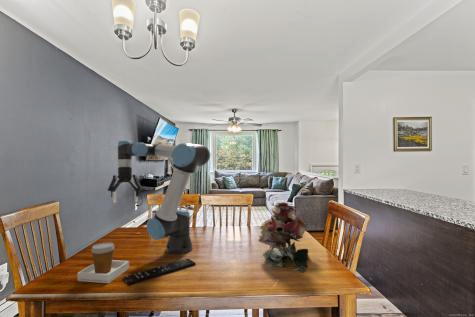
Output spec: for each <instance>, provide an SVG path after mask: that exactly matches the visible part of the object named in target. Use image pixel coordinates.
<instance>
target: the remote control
mask: <svg viewBox="0 0 475 317" xmlns="http://www.w3.org/2000/svg"><path fill="white" fill-rule="evenodd" d="M194 266H196V262H194V260H192V259H190V258H185V259H182V260H179V261H175V262H171V263H167V264H164V265H161V266H157V267H153V268H150V269H145V270H143V271H139V272H135V273H132V274H128V275H124V276H123V280H124V281H125V283H126V284H127V285H128V286H131V285H135V284H139V283H141V282H144V281H149V280H151V279H154V278H158V277H161V276H164V275H167V274H171V273H174V272H178V271H181V270H184V269H186V268H187V269H188V268H190V267H194Z"/></svg>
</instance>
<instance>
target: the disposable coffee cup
mask: <svg viewBox="0 0 475 317" xmlns="http://www.w3.org/2000/svg"><path fill="white" fill-rule="evenodd" d="M114 249H115V244H114V243H113V242H100V243H96V244H94V245H93V246H92V247H91V253H92V259H93V264H94V268H95V273H100V274H106V273H109V272H110V271H111V265H112V260H113V258H114V257H113V256H114Z"/></svg>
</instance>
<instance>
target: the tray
mask: <svg viewBox="0 0 475 317" xmlns="http://www.w3.org/2000/svg"><path fill="white" fill-rule="evenodd" d="M129 269H130V261H129V260H118V259H117V260H115V259H112V265H111V271H110V272H109V273H106V274H100V273H95V268H94V263H92V264H91V265H89V266H87V267H85V268H84V269H82V270H80V271H78V272H77V282H88V283H89V282H90V283H102V284H109V283H111V282H113V281H114V280H115V279H117V278H118V277H119V276H121V275H122V274H123V273H125V272H127V271H128V270H129Z"/></svg>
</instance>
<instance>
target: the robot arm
mask: <svg viewBox="0 0 475 317" xmlns="http://www.w3.org/2000/svg"><path fill="white" fill-rule="evenodd" d="M132 157H157V158H163V159H164V158H166V159H171V162H172V163H173V164H172V167H173V168H174V169H173V172H172V175H171V178H170V180H169V183H168V187H167V189H166V191H165V194H164V197H163V199H162V202H161V205H160V207H159V209H157V210H156V211H155V213H154V216H153V217H150V218H149V219H148V220H147V222H146V231H147V233H148V236H150V238H152V239H153V240H156V241H158V240H162V239H165V238H168V239H167V242H166V243H167V244H166V247H165V251H166V252H167V253H169V254H171V255H172V254H174V255H176V254H177V255H178V254H180V255H181V254H184V253H188V252H190V251H192V250H193V247H194V246H193V242H192V239H191V235H190V231H191V229H190V228H191V227H190V222H191V220H190V217H191V216H190V211H189V210H187V209H178V208H179V206H180V203H181V202H182V197H183V195H184V193H185V191H186V187H187V185H188V182H189V179H190V177H191V175H192V174H195V172H196V169H197V167H203V166H205V165H206V164H208V162H209V160H210V158H211V153H210V149H209V148H208V146H205V145H203V144H200V143H199V144H197V143H190V142H186V143H185V142H184V143H179V144H177V145H176V146H175V145H165V144H153V143H144V142H135V143H134V142H133V143H132V141H130V140H120V141H118V142H117V166H118V168H117V174H116V175H115V174H113V175H112V180H111V182H110V184H109V186H108V188H107V191H108V192H110V197H111V199H112V204H115V203H117V189H118V188H119V186H121V184H122V183H129V184H130V186H131V187H132V188H133V189H134V193H133V195H134V197H133V198H134V199H133V200H134V203H138V202H139V196H140V191H141V190H143V187H142V185H141V183H140V181H139V179H138V174H132V173H133V172H132V171H133V170H132V169H133V167H132V166H133V165H132V162H133V161H132V160H133V158H132Z"/></svg>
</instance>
